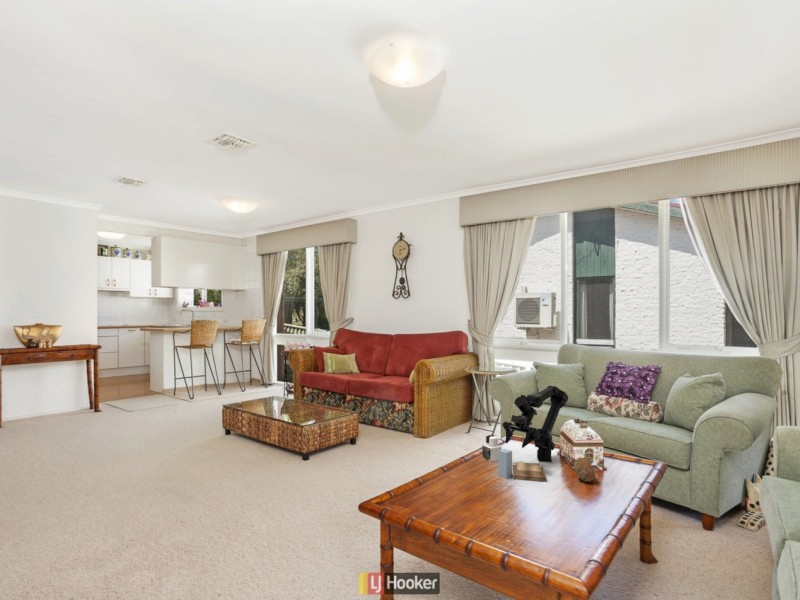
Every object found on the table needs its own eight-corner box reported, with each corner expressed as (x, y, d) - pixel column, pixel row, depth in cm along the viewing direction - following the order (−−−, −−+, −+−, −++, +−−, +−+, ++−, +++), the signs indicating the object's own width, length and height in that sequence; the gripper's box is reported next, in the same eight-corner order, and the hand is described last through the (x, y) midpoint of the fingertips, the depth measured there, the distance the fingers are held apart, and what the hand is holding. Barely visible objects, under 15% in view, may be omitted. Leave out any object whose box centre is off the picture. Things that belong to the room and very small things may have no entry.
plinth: (542, 470, 222) (542, 462, 222) (546, 481, 208) (546, 472, 208) (512, 468, 225) (512, 460, 225) (514, 479, 211) (514, 470, 211)
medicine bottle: (482, 457, 241) (482, 435, 241) (493, 456, 244) (493, 433, 244) (490, 462, 234) (490, 438, 235) (501, 460, 237) (501, 436, 238)
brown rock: (598, 477, 213) (598, 456, 213) (593, 486, 203) (593, 463, 203) (577, 473, 218) (577, 452, 219) (571, 482, 208) (571, 459, 208)
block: (504, 474, 218) (504, 448, 218) (512, 476, 214) (512, 450, 215) (498, 476, 215) (498, 450, 215) (506, 479, 211) (506, 452, 212)
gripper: (503, 405, 230) (490, 432, 223) (536, 411, 216) (523, 440, 209) (513, 417, 236) (501, 444, 229) (545, 424, 222) (533, 453, 215)
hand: (514, 445), depth 220 cm, fingers open, 9 cm apart
